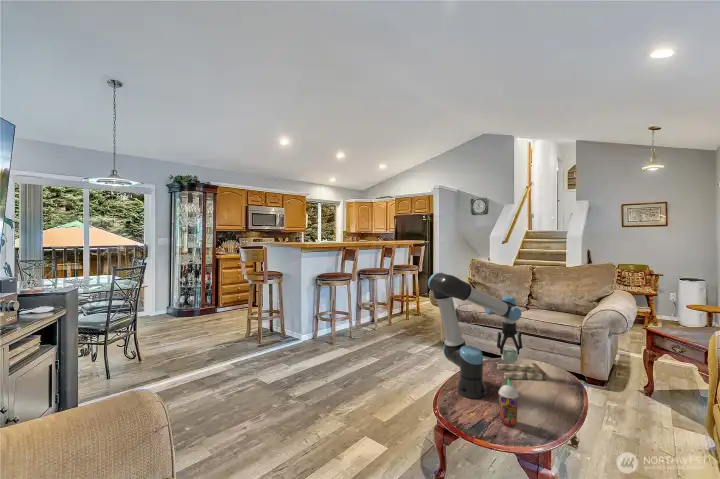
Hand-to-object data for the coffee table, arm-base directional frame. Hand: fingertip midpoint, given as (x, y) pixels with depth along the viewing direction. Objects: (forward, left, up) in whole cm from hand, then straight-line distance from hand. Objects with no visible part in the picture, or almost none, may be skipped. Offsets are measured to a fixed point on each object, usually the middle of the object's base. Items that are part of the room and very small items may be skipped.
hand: (509, 359), depth 205 cm
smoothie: (-18, -55, -9) cm, 59 cm away
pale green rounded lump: (0, 0, 0) cm, 0 cm away
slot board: (+7, 0, -9) cm, 11 cm away
